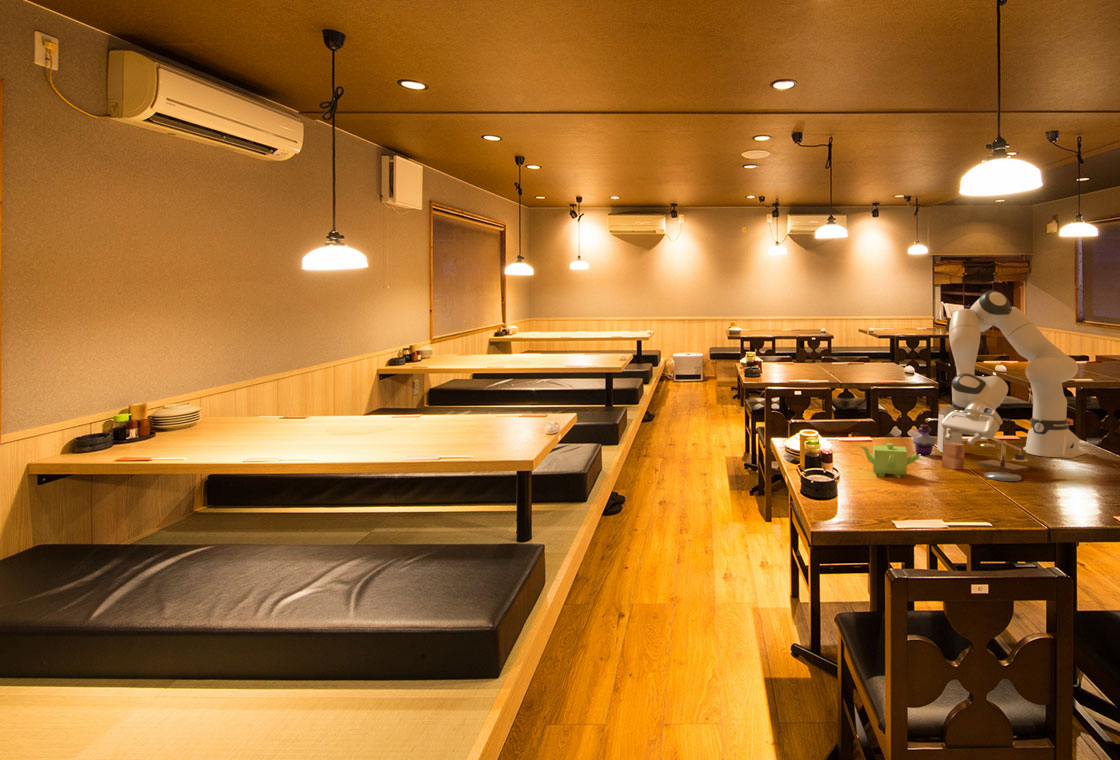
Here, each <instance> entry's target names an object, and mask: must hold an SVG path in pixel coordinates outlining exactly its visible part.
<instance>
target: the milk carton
mask: <svg viewBox="0 0 1120 760" xmlns="http://www.w3.org/2000/svg"><path fill="white" fill-rule="evenodd" d="M952 411H956V409H955V408H954V407H953V405H941V408H940V410H939V413H938V420H937V421H938V423H937V441H936V442H937V445H936V446H937V447H936V448H937V449H938V450H939V451H938V450H937V449H936V450H937V451H938V452H940V453H941V452H942V453H941V454H943V443H951V442H954V443H959V444H963V434H962V433H957V432H953V433H951V436H952V439H951V440H946V439H945V436H946V434H947V430H945V429H944V428H943V427H942V425H941V422H942V421H943V420H944V419H945V418H946V416H947V415H948V414H950V413H951V412H952Z"/></svg>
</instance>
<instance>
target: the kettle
mask: <svg viewBox="0 0 1120 760" xmlns="http://www.w3.org/2000/svg"><path fill="white" fill-rule="evenodd" d="M872 446H873V449H872V450H873V451H872V454H871V453H870V450H869V447H867V446H864V445H859V446H858V447H859V448H861V449H862V450H863V451H864V452H865V457H866V459H867V461H868V462H869V463H871V465H872V469H873V473H874V474H878V475H877V477H880V476H884V477H885V476H886V475H894V477H895V478H896V477H901V478H902V475H903V476H904V475H906V476H907V475H908V472H907V471H908V465H911V464H912V463H913V462H916V461H917V460H920V455H917V453H914V454H912V455H911V456H909V457H908V451H907V447H905V446H897V445H895V444H894V443H890V442H886V445H877V444H876V445H875V444H874V445H872Z"/></svg>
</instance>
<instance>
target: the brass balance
mask: <svg viewBox="0 0 1120 760" xmlns="http://www.w3.org/2000/svg"><path fill="white" fill-rule="evenodd" d="M986 439H987V441H986V442H987V443H980V444H979V446H980V447H982V448H988V449H993V448H996V444H992V443H989V440H993V441H995V442H996V443H999V444H1000V445H1001V451H1000V460H997V459H987V460H980V461H979V460H978V461H977V465H978V466H980V465H981V467H985V466H987V467H986V468H990V467H992V468H991V469H994V468H996V469H995V470H999V469H1001V470H1000V471H1003V470H1005V471H1004V472H1008V471H1010V472H1009V473H1012V472H1015V473H1021V472H1025V471H1024V470H1027V471H1029V466H1025V465H1020V464H1016V463H1017V462H1018V463H1028V462H1029V459H1028V458H1025V454H1023V453H1021V452H1022V448H1020V447H1018V446H1015V445H1013V444H1010V443H1009V442H1008V441H1007V440H1001V439H999V438H995V436H994V437H993V438H990V439H988V438H986ZM1007 447H1009V448H1011V449H1014V450H1016V451H1018V452H1019V453H1015V455H1014V456H1015V457H1012V458H1011V461H1012V462H1015V463H1011V462H1006V449H1007ZM1020 471H1021V472H1020Z"/></svg>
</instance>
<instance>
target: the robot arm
mask: <svg viewBox="0 0 1120 760" xmlns="http://www.w3.org/2000/svg"><path fill="white" fill-rule="evenodd" d="M993 326H994V327H996V328H998V329H999V330H1000V332H1001V333H1002V335H1003V337H1005V338H1006V341H1008V343H1009V344H1010V345H1011V346H1012V348H1013V349H1014V350H1015V351H1016V353H1017V354H1018V355H1019V356H1021V357H1023V358H1024V359H1026V360H1028V361H1029V363H1028V364H1027V365H1026V367H1025V373H1024V374H1025V377H1026V379H1028V381H1029V383H1030V388H1031V392H1032V417H1031V418H1030V427H1031V428H1030V429H1028V432H1027V436H1026V444H1025V446H1024V447H1023V449H1022V450H1023V451H1025V453H1026V454H1030V455H1032V456H1033V455H1034V456H1039V457H1047V458H1066V459H1074V458H1076V457H1080V456H1083V455H1086V454H1087V450H1085V449H1082V448H1081V449H1080V439H1079V437H1078V436H1077V435H1076V434H1074V433H1073V432H1072V431H1071V430H1070V429H1069V428H1070V426H1072V425H1073V424H1074V420H1073V419H1067V409H1068V399H1067V397H1066V396H1065V393H1064V389H1063V383H1065V382H1068V381H1070V380H1071V379H1073V378H1075V376H1076V375H1077V374H1078V372H1079V364H1078V362H1077V361H1076V360H1075V359H1074V358H1072V357H1070V356H1068V355H1067V354H1066V353H1065V352H1063V351H1062V350H1061V349H1060V348H1059V347H1057V346H1056V345H1055V344H1054V343H1052V342H1051V341H1050V340H1049V339H1048V338H1047V337H1046V336H1045V335H1044V334H1043V332H1042V331H1041V330H1040V329H1039V328H1038V327H1037V325H1036V324H1035V323H1034V322H1033V321H1032V320H1031V319H1030V317H1028V315H1026V314H1025V313H1024V312H1023V311H1021V310H1020V308H1018V307H1016V306H1012V304H1011V302H1010V300H1009V299H1008V297H1007V296H1006V295H1005V294H1004V293H1002V292H1001V291H998V290H988V291H986V292H985V293H983V294H981V296H980V297H979V298H978V299H977V300H976V301H975V302H974V303H973V304H972V305H971V307H970V308H960V309H957V310H956V311H954V312H953V313H952V315H951V317H950V321H949V326H948V327H949V328H948V339H949V345H950V349H951V353H952V357H953V359H954V363H955V369H956V376H955V377H954V378H953V379H952V381H951V395H952V396H951V398H952V399H951V406H953V407H954V408H955V409H956V411H952V412H951V413H950V414H948V415H947V416H946V418H945V419H944V420H943V421H942V422H941V425H942V427H943V428H944V429H945V430H947V434H946V436H945V439H946V440H951V439H952V436H951V433H953V432H957V433H962V435H963V434H964V435H969V436H973V437H971V438H970V437H968V440H966V441H967V442H966V443H967V444H968V445H971V446H974V445H975V443H976V442H978V441H980V440H981V439H982V438H985V439H987V438H988V440H991V439H990V438H993V437H994V438H995V436H996V435H997V433H998V432H999V430H1000V427H1001V425H1002V424H1003V420H1002V418H1001V416H1000V415H999V413H998V412H997V411H996V409H997V408H999V407H1000V405H1001V404H1002V403H1003V401H1004V400H1005V398H1006V397H1007V394H1008V392H1009V386H1008V384H1007V383H1006V381H1005V380H1004V379H1003V378H1001V377H1000V376H998V375H990V376H980V375H979V376H978V375H975V369H976V361H977V359H978V353H979V350H980V349H979V348H980V344H981V343H980V342H981V335H983V334H985V333H986V332H988V330H989V329H991V328H992V327H993Z"/></svg>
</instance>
